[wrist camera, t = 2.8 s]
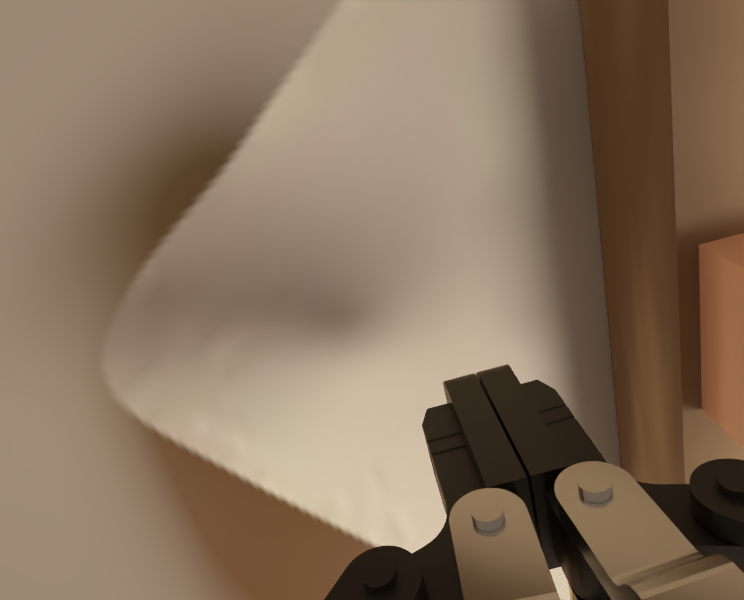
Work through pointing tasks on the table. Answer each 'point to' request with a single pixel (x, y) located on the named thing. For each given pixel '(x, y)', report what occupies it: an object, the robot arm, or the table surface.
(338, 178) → the table surface
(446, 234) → the table surface
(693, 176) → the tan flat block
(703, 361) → the tile
